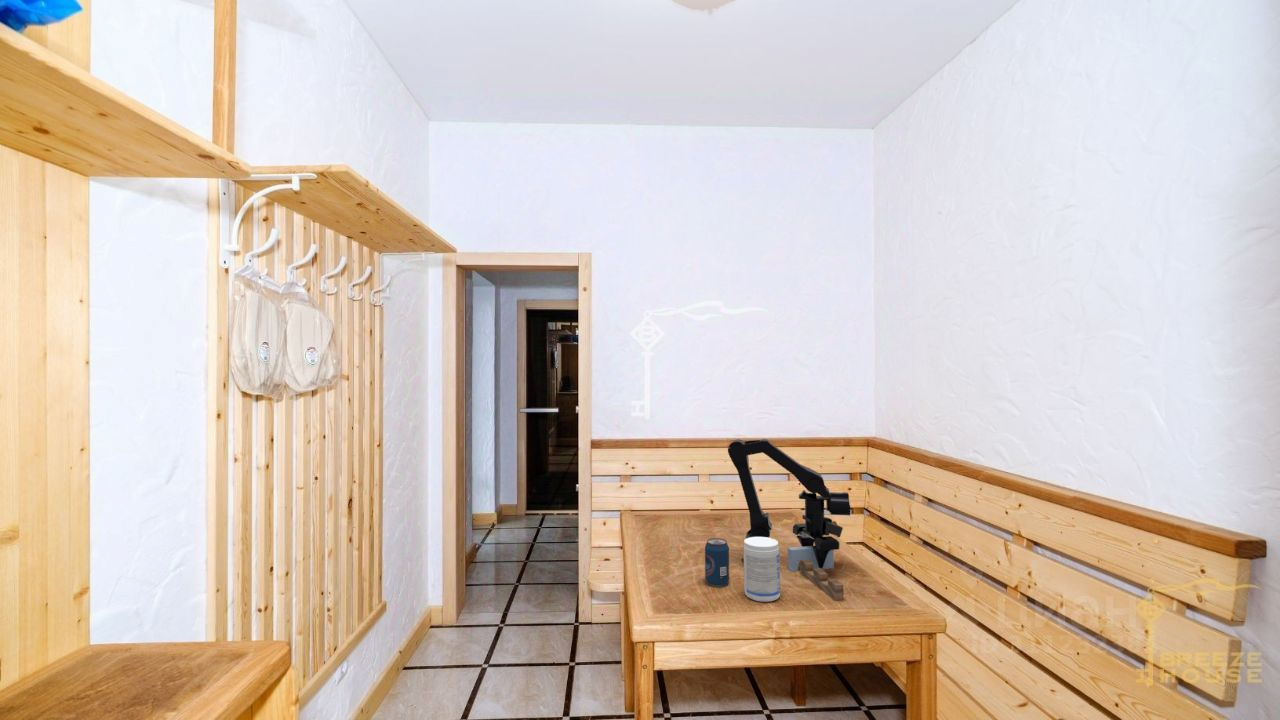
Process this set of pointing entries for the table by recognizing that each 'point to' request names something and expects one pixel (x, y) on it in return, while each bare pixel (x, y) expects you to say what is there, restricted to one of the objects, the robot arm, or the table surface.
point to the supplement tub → (761, 569)
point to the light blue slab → (807, 553)
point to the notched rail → (822, 580)
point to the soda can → (717, 562)
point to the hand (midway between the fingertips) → (815, 564)
